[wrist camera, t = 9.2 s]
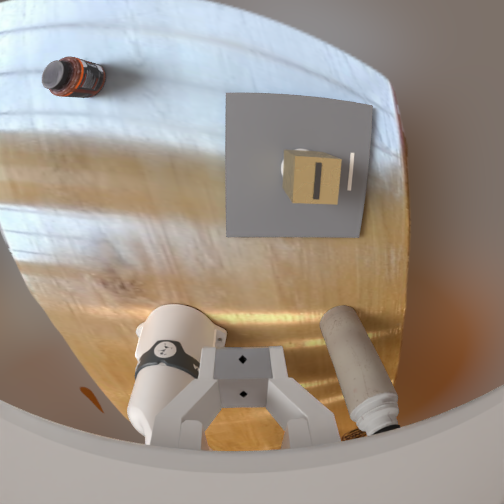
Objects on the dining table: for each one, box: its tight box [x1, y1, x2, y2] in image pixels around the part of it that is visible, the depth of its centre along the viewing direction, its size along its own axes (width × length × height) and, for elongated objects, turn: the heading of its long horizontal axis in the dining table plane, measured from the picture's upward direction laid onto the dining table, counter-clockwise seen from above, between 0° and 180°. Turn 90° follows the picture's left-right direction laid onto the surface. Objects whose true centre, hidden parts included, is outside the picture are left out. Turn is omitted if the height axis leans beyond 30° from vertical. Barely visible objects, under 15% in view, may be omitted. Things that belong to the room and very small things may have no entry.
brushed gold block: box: [282, 150, 342, 205], centre depth 35 cm, size 6×6×8 cm
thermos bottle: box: [320, 306, 400, 436], centre depth 42 cm, size 8×8×28 cm
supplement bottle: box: [42, 57, 105, 98], centre depth 28 cm, size 6×6×11 cm
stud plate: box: [225, 93, 373, 238], centre depth 37 cm, size 22×22×10 cm
